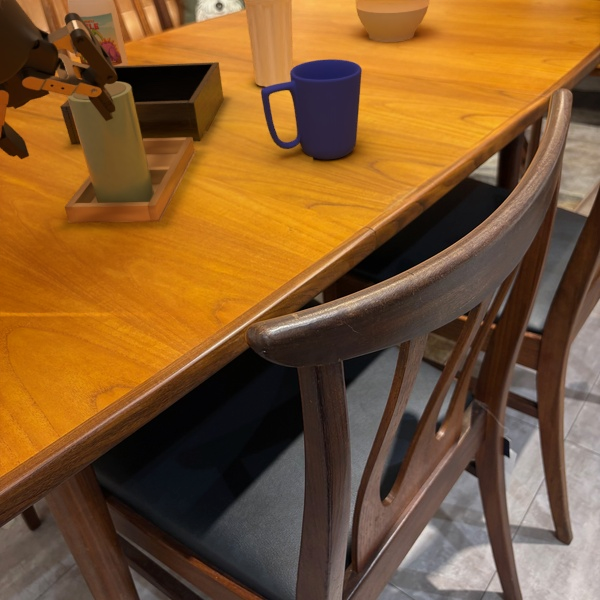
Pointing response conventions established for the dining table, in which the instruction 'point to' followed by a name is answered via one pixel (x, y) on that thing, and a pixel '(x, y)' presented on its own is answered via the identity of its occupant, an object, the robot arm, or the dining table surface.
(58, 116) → the dining table surface
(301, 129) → the mug
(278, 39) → the cup
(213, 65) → the dark brown open box
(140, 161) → the tumbler
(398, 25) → the bowl
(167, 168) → the divided wooden tray
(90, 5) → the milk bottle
